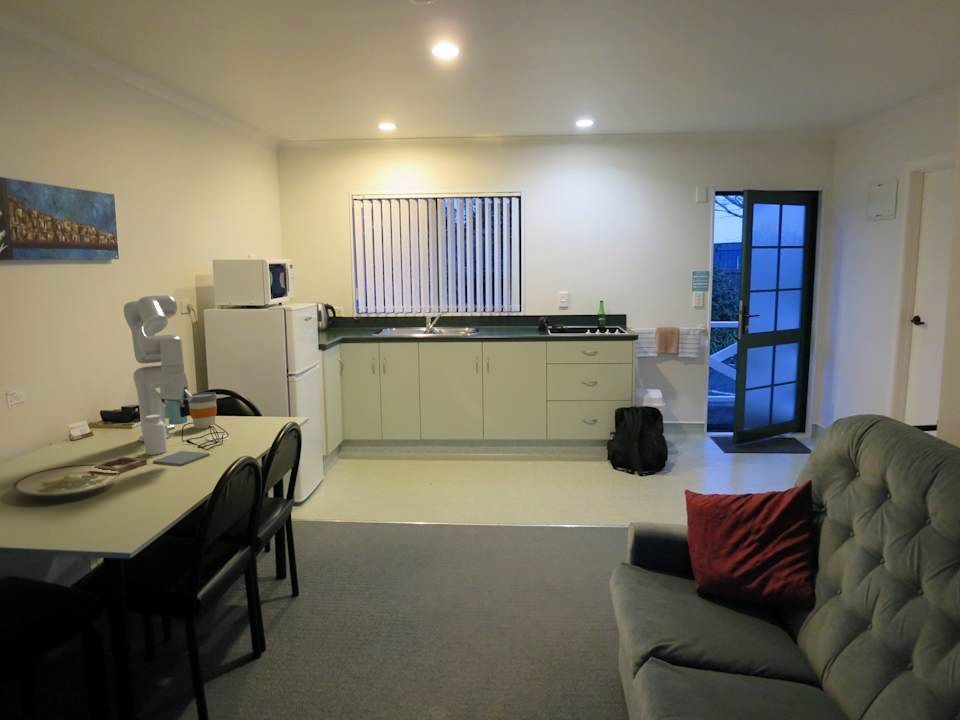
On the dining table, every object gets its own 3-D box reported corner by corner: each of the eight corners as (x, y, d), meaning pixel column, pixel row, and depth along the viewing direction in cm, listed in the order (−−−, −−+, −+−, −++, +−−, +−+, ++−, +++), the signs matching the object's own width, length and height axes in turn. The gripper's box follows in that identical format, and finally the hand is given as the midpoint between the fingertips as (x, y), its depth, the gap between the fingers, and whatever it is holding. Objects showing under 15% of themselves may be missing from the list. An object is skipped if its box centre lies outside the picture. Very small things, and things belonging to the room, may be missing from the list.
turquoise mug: (178, 420, 250) (176, 397, 249) (191, 421, 248) (188, 398, 247) (160, 425, 242) (158, 401, 241) (173, 426, 240) (171, 402, 239)
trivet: (181, 452, 257) (181, 450, 257) (209, 455, 252) (209, 453, 252) (153, 463, 244) (152, 460, 244) (181, 465, 239) (181, 463, 239)
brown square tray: (121, 461, 248) (120, 456, 247) (146, 463, 243) (146, 459, 243) (90, 471, 236) (89, 466, 235) (116, 474, 231) (116, 469, 231)
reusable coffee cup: (206, 430, 294) (204, 397, 292) (184, 428, 298) (181, 396, 296) (224, 423, 306) (222, 392, 304) (202, 422, 310) (199, 391, 307)
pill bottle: (145, 456, 254) (141, 419, 252) (145, 451, 261) (141, 415, 259) (167, 453, 257) (164, 416, 255) (167, 448, 264) (163, 412, 262)
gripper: (147, 370, 243) (152, 417, 245) (183, 371, 237) (187, 419, 239) (163, 367, 250) (167, 412, 252) (198, 368, 244) (202, 415, 246)
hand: (177, 415), depth 246 cm, fingers closed on turquoise mug, 6 cm apart
